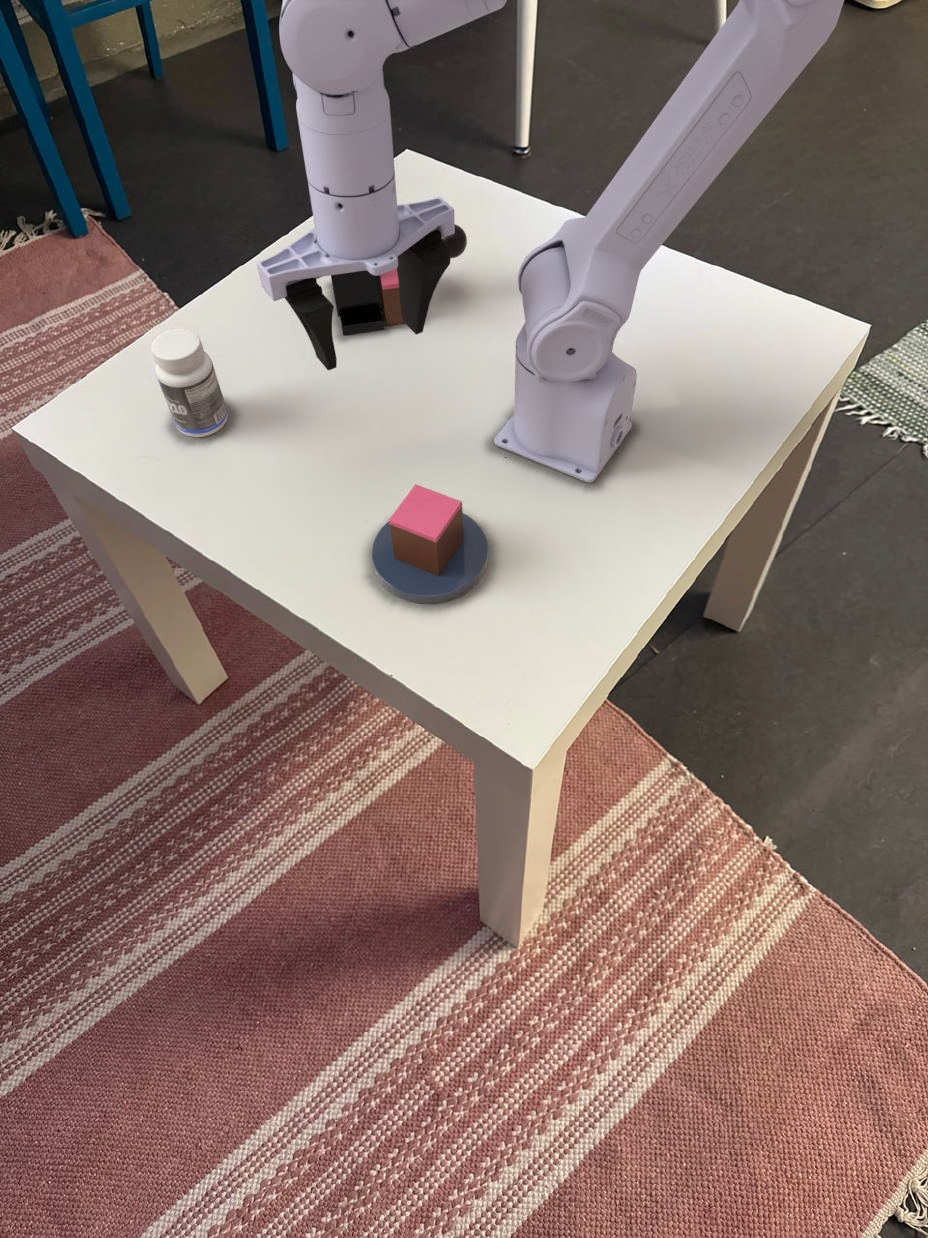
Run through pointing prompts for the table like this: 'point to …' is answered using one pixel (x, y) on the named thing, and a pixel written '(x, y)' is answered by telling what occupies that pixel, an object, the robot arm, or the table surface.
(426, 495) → the cake slice
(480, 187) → the table surface
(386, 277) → the loaf cake
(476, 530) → the plate
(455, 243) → the lever
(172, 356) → the pill bottle
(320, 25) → the robot arm
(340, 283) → the bracket
